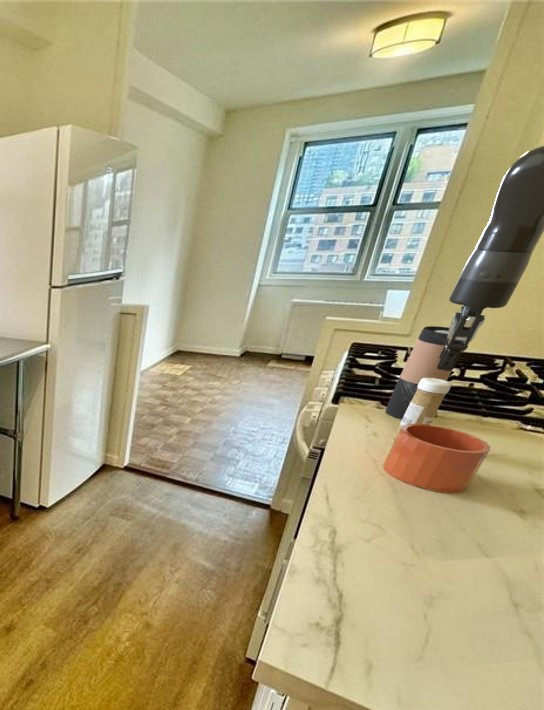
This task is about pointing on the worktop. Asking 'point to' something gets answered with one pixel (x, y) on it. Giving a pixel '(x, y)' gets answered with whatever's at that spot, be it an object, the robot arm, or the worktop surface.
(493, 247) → the robot arm
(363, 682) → the worktop surface
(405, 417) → the sprinkles bottle
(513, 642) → the worktop surface
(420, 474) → the crock
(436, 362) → the travel mug
